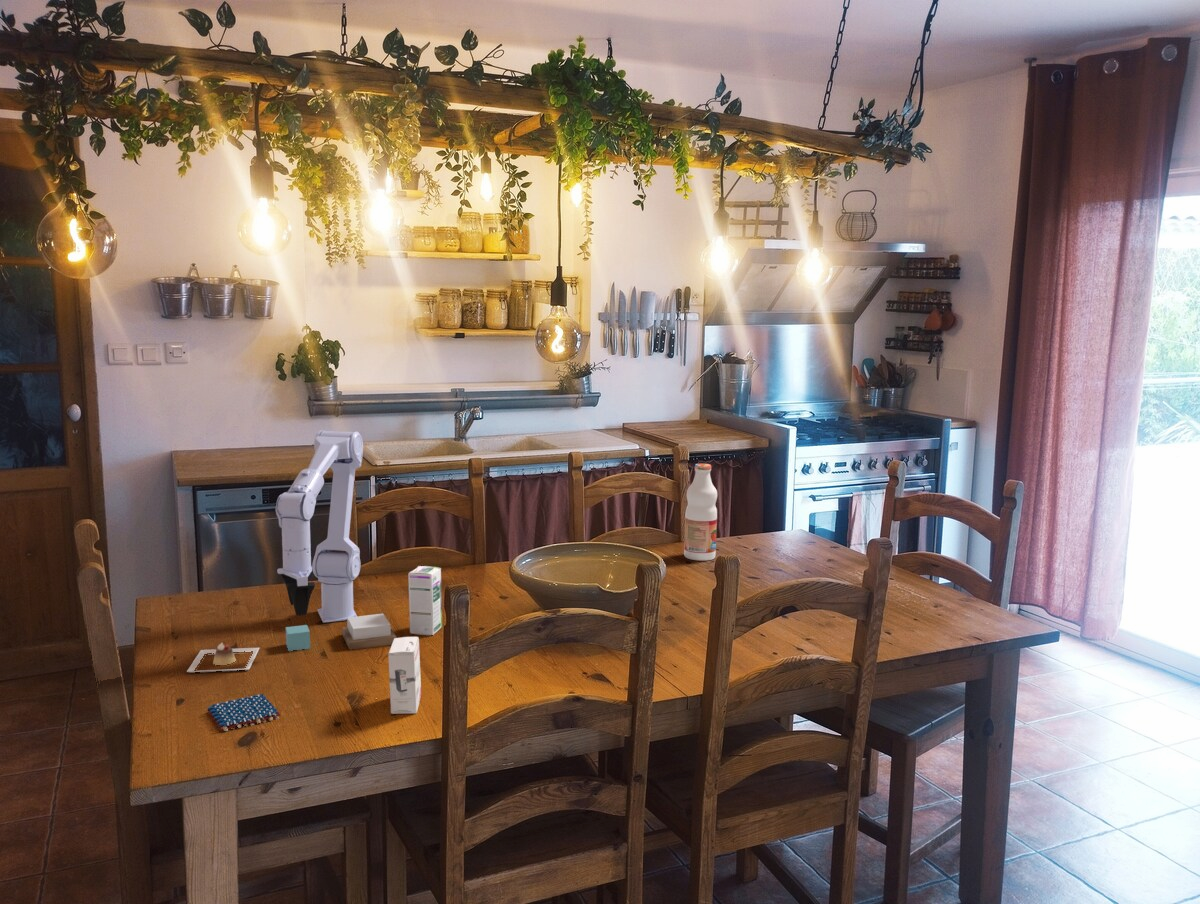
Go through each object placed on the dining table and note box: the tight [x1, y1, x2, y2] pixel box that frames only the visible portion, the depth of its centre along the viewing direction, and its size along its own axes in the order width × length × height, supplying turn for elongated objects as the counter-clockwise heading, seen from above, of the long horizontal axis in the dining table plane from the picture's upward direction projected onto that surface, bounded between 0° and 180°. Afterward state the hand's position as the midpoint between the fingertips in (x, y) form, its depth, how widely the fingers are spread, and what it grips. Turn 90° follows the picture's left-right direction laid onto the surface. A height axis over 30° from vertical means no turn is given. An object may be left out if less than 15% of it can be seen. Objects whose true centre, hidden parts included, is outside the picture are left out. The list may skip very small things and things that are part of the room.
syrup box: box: [407, 565, 443, 636], centre depth 217 cm, size 6×6×14 cm
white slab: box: [346, 613, 392, 640], centre depth 211 cm, size 8×8×2 cm
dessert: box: [186, 641, 261, 674], centre depth 197 cm, size 12×12×5 cm
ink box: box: [387, 636, 422, 715], centre depth 178 cm, size 9×5×12 cm, turn 5°
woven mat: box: [207, 693, 281, 732], centre depth 173 cm, size 10×11×2 cm
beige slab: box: [341, 626, 397, 651], centre depth 212 cm, size 10×10×2 cm
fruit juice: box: [683, 463, 718, 562], centre depth 283 cm, size 9×9×28 cm
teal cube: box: [285, 624, 311, 652], centre depth 207 cm, size 4×4×4 cm
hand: (298, 609), depth 205 cm, fingers open, 7 cm apart
